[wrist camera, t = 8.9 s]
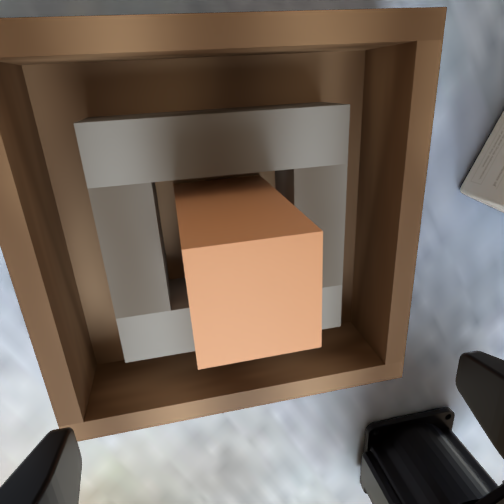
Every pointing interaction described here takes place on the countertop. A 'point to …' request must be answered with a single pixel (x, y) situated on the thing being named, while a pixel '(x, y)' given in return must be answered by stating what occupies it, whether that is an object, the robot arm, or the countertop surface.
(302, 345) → the block
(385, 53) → the tray
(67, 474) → the robot arm
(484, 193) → the supplement box
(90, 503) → the countertop surface
